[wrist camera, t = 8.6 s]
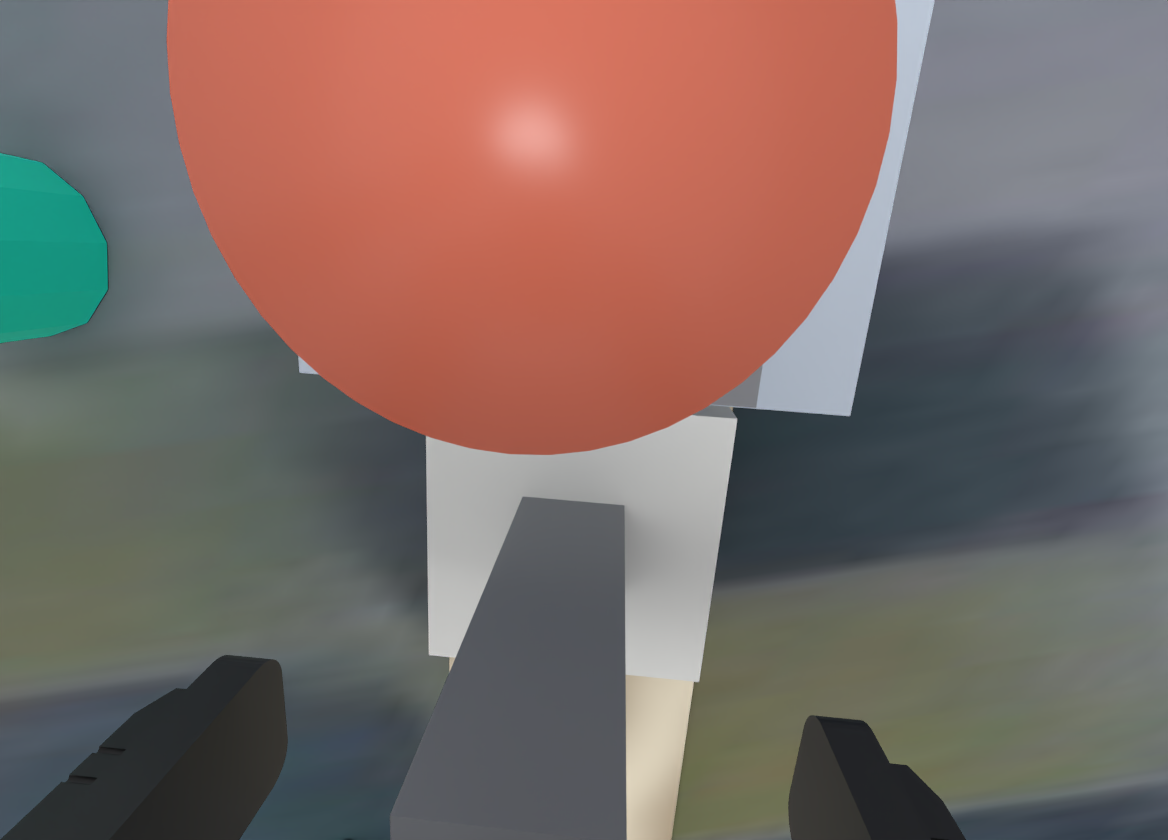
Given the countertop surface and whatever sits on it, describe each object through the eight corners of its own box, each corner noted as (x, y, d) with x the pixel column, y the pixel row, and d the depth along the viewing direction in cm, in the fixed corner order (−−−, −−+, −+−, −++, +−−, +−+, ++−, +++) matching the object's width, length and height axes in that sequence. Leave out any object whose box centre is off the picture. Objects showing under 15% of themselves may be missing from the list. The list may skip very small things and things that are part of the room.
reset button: (392, 353, 7) (211, 429, 4) (379, -48, 6) (111, -382, 3) (732, 379, 7) (822, 480, 4) (790, -30, 6) (986, -368, 3)
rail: (459, 850, 26) (434, 939, 22) (461, 314, 19) (427, 326, 16) (658, 873, 25) (664, 967, 22) (733, 333, 19) (757, 351, 15)
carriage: (474, 562, 19) (221, 1080, 7) (476, 358, 17) (137, 596, 5) (681, 581, 19) (784, 1157, 7) (707, 375, 17) (916, 672, 5)
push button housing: (461, 314, 19) (217, 402, 8) (463, 115, 17) (150, -160, 6) (733, 333, 19) (910, 458, 7) (761, 132, 17) (1052, -128, 5)
